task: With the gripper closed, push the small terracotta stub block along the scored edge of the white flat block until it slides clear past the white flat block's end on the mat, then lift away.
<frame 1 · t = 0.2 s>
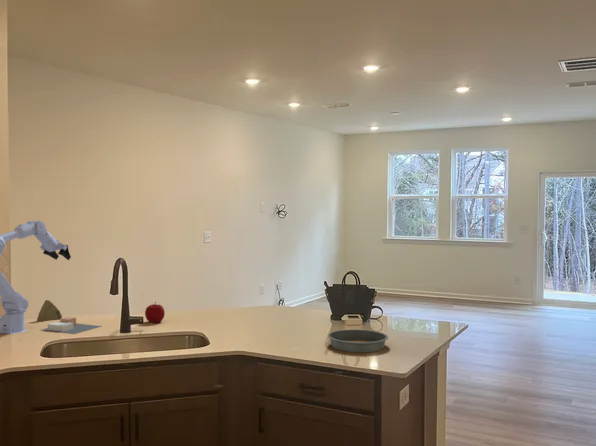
hand: (63, 258, 273), 31 cm above the worktop, tool tilted 45°, fingers open, 7 cm apart
apple: (154, 322, 273), on the worktop
stub: (68, 326, 258), point 1 cm above the worktop, touching mat
mat: (71, 329, 255), on the worktop
white flat block: (60, 329, 252), resting on mat
cake pan: (357, 346, 228), on the worktop
rock: (50, 321, 275), on the worktop
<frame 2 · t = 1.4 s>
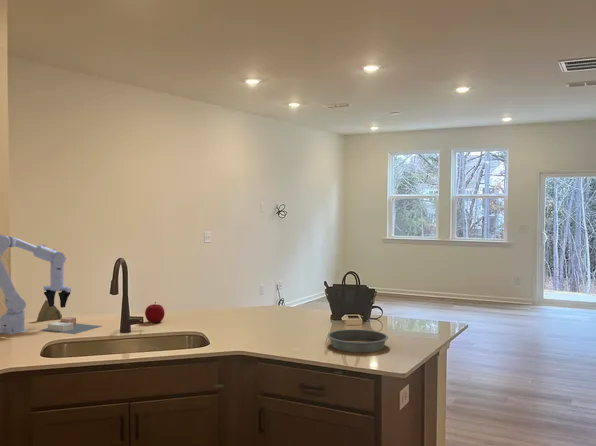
hand: (57, 306, 260), 9 cm above the worktop, tool pointing down, fingers open, 6 cm apart
nothing on the worktop moved.
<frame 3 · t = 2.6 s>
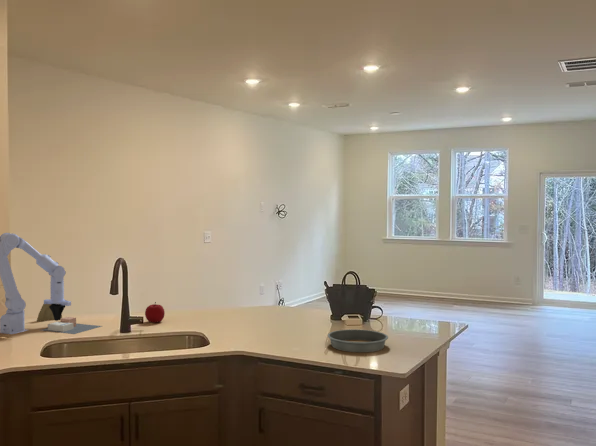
hand: (57, 320, 260), 3 cm above the worktop, tool pointing down, fingers closed
nothing on the worktop moved.
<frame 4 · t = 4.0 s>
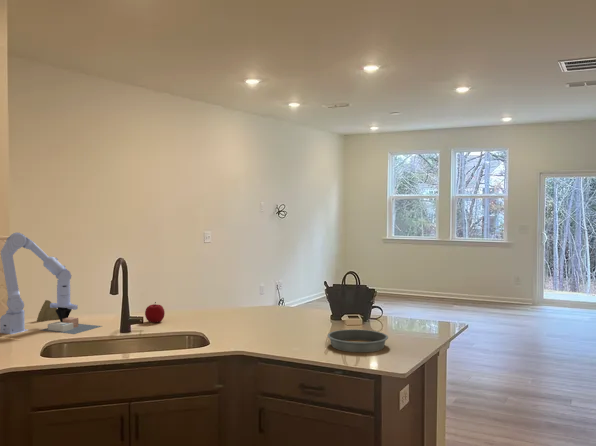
hand: (63, 324, 259), 2 cm above the worktop, tool pointing down, fingers closed
stub: (70, 327, 257), point 1 cm above the worktop, touching gripper
everything else where it was.
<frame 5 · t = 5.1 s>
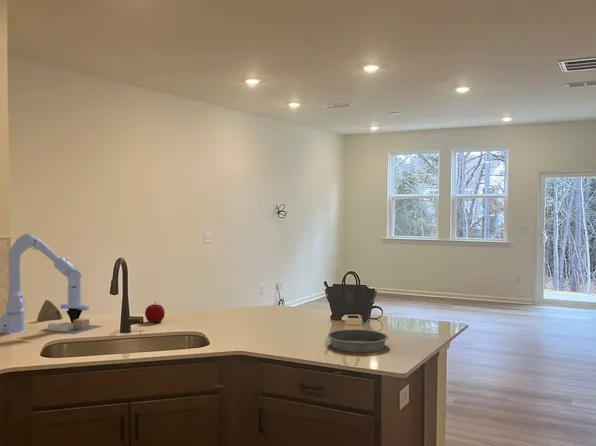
hand: (74, 325, 256), 2 cm above the worktop, tool pointing down, fingers closed
stub: (81, 328, 255), point 1 cm above the worktop, touching gripper, mat
everything else where it was.
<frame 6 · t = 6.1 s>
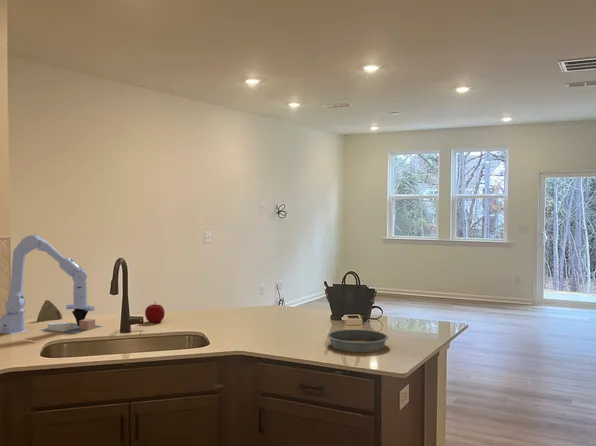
hand: (80, 325, 255), 2 cm above the worktop, tool pointing down, fingers closed
stub: (87, 328, 254), point 1 cm above the worktop, touching gripper, mat
everything else where it was.
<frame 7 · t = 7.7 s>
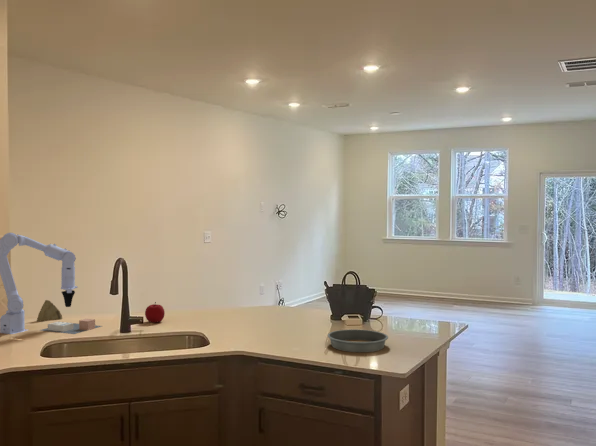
hand: (68, 306, 258), 10 cm above the worktop, tool pointing down, fingers closed
stub: (87, 328, 254), point 1 cm above the worktop, touching mat
everything else where it was.
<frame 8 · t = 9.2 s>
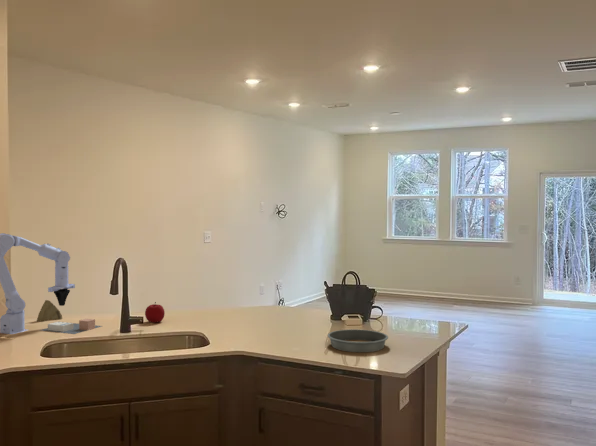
hand: (61, 305, 261), 10 cm above the worktop, tool pointing down, fingers closed
nothing on the worktop moved.
at the end: stub inside the target area (1.6 cm from its centre), point 0.6 cm above the worktop; stub touching mat; stub tilted 0° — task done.
